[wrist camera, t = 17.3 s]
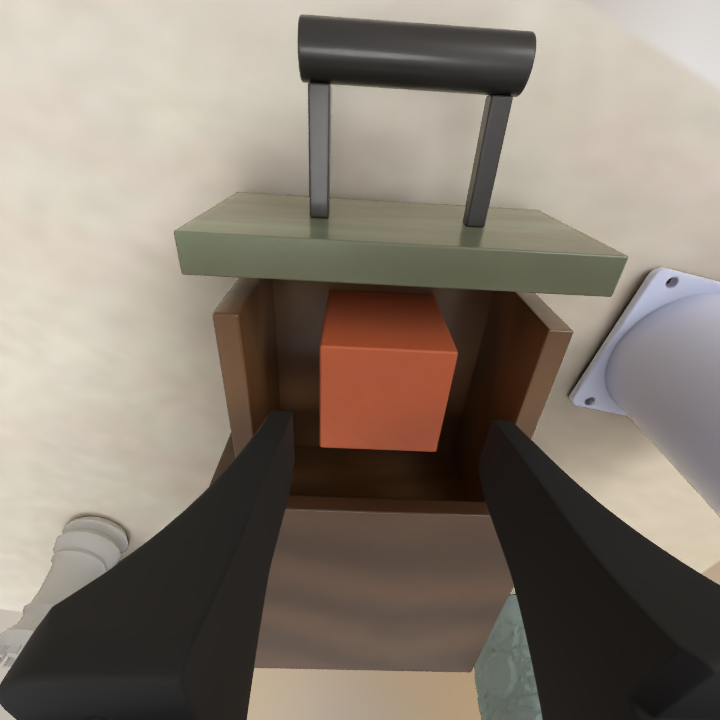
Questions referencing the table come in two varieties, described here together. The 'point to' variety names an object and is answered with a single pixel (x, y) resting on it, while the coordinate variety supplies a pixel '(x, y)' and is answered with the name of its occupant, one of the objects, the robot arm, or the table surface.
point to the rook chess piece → (67, 574)
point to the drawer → (395, 268)
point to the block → (384, 371)
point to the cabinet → (380, 584)
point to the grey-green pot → (507, 670)
